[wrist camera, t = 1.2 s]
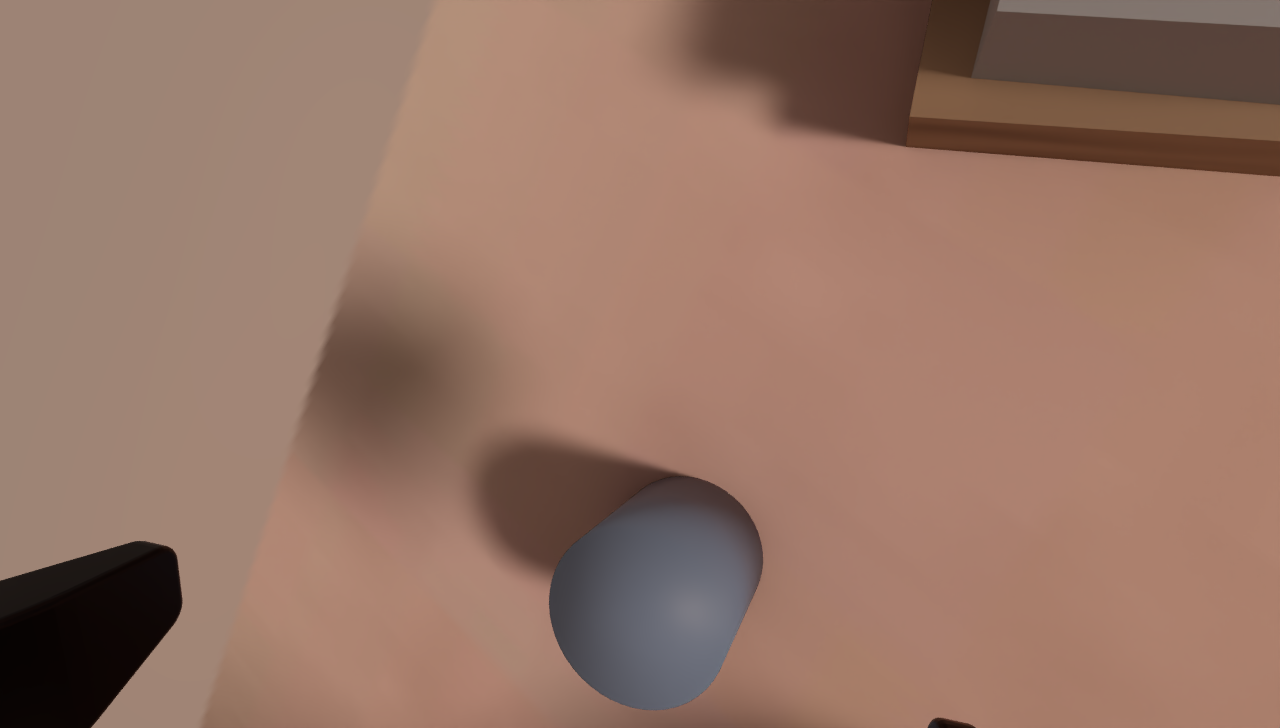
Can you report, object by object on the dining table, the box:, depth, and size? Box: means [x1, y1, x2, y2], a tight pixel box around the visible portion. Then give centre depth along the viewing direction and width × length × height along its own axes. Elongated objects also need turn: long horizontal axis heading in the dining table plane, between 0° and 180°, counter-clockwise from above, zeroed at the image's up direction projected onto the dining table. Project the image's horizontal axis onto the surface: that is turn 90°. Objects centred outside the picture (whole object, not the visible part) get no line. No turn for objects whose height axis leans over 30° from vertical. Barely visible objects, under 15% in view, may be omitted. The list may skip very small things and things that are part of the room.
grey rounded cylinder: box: [549, 477, 763, 710], centre depth 18 cm, size 4×4×4 cm
